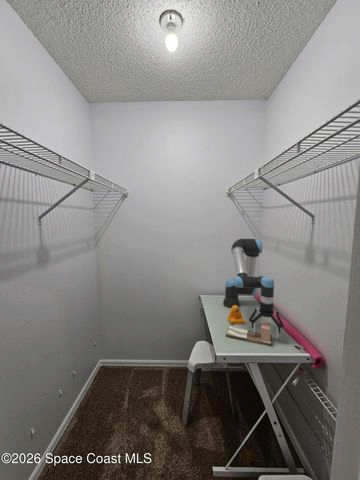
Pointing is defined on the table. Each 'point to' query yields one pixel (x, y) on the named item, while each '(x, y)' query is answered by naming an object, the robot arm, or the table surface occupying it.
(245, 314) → the table surface
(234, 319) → the bracket
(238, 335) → the board
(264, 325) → the stub
